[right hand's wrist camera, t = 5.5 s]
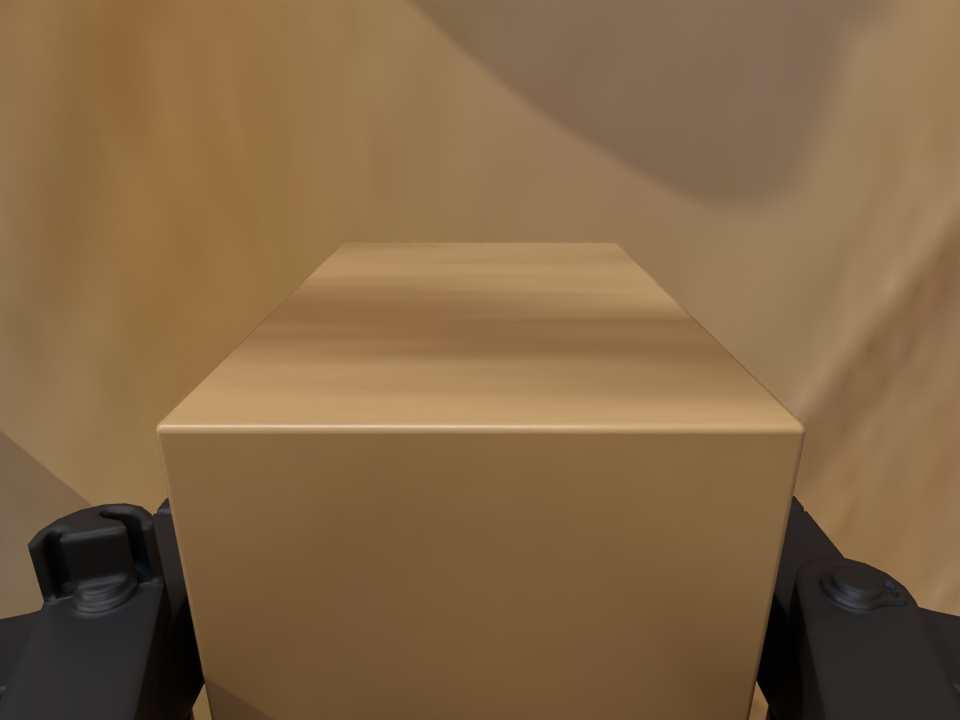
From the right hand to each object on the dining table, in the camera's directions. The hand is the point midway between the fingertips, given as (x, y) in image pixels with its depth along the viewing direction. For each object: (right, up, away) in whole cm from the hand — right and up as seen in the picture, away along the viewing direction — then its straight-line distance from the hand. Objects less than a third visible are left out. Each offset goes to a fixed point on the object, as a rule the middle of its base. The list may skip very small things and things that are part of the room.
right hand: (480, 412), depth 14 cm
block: (0, -12, +5) cm, 14 cm away
